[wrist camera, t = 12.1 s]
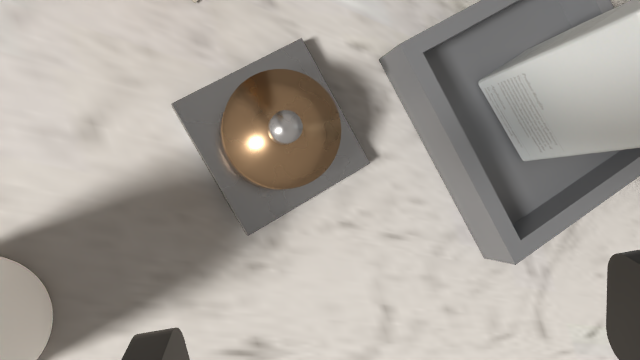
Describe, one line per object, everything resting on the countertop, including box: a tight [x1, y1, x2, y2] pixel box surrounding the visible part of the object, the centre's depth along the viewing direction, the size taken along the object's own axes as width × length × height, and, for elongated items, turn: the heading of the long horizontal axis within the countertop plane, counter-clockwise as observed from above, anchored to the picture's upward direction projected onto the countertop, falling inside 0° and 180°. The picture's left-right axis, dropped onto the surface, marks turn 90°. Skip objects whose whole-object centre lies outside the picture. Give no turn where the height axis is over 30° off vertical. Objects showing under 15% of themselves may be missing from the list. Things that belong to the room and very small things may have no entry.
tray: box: [379, 0, 640, 265], centre depth 30 cm, size 14×14×3 cm
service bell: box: [172, 38, 370, 236], centre depth 26 cm, size 8×8×4 cm
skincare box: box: [478, 0, 640, 161], centre depth 25 cm, size 6×4×12 cm
